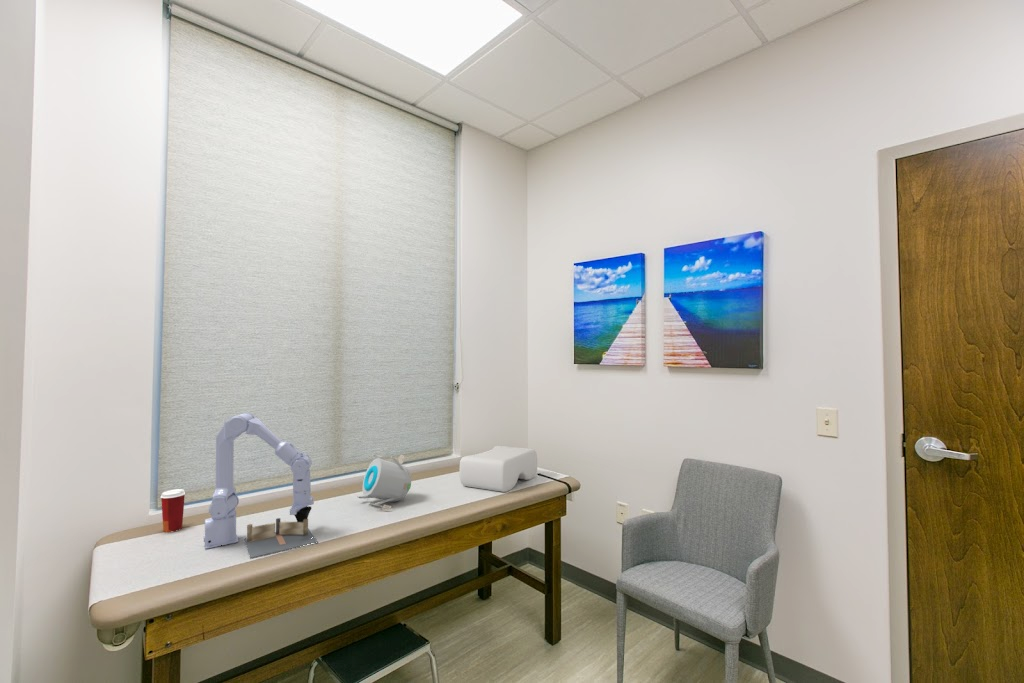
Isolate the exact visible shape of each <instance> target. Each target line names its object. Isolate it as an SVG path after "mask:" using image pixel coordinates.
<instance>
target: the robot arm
mask: <svg viewBox="0 0 1024 683" xmlns="http://www.w3.org/2000/svg"><path fill="white" fill-rule="evenodd" d="M243 433H245V435H250V436H251V435H252V436H253V435H254V436H257V437H258V438H259V439H261V440H262V441H264V442H265V443H266V444H267V445H268V446H271V447H272V448H273V449H274V455H275V456H277V458H279V459H280V460H281V461H283V462H284V464H286V465H288V466H290V470H291V472H292V473H293V477H292V501H293V502H292V505H291V507H290V508H289V515H290V516H294V517H295V519H296V522H303V519H308V518H309V515H310V513H311V510H312V505H315V501H314V496H312V495H311V494H312V493H311V489H312V488H311V469H310V468H311V466H312V463H313V462H312V459H311V457H310V455H308V454H305V453H304V452H303V451H300V450H299V449H297V448H296V447H295V446H294V445H295V444H294V443H293V442H289V441H282V440H281V439H280V438H279V437H278V436H277V435H276V434H274V432H273V431H271V430H270V429H269V428H268V427H267V426H266V425H265V424H264V423H263V422H262V421H261V420H260V419H259V418H257V417H255V416H254V415H253V413H250V412H244V413H241V414H238V415H234V416H231V417H230V418H228V419H227V420H226V421H224V424H223V425H222V427H221V429H220V431H219V432H218V433H217V435H216V437H215V490H214V492H213V494H212V496H211V503H210V505H209V507H208V513H209V516H211V517H209V518H205V519H204V536H203V542H204V549H205V550H206V549H211V548H216V547H221V545H222V546H226V545H230V544H235V543H238V542H239V537H238V534H237V511H236V508H237V507H238V505H239V501H240V500H239V497H238V495H237V491H236V490H237V488H236V487H235V486H234V457H235V456H234V445H235V444H234V441H235V440H236V439H237V438H238V437H240V436H241V435H242V434H243Z"/></svg>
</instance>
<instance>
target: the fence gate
mask: <svg viewBox="0 0 1024 683" xmlns="http://www.w3.org/2000/svg"><path fill="white" fill-rule="evenodd" d="M308 528H309V519H308V518H307V519H303V522H297V521H281V517H278V518H275V532H276V534H277V535H278V534H303V535H306V534H308Z"/></svg>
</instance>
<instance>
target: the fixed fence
mask: <svg viewBox="0 0 1024 683" xmlns="http://www.w3.org/2000/svg"><path fill="white" fill-rule="evenodd" d="M275 532H276V522H271V523H266V524H261V525H257V526H255V525H254V526H253V523H252V524H251V523H250V524H247V525H246V538H247V542H250V541H253V540H258V539H263V538H267V537H272V536H275Z"/></svg>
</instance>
